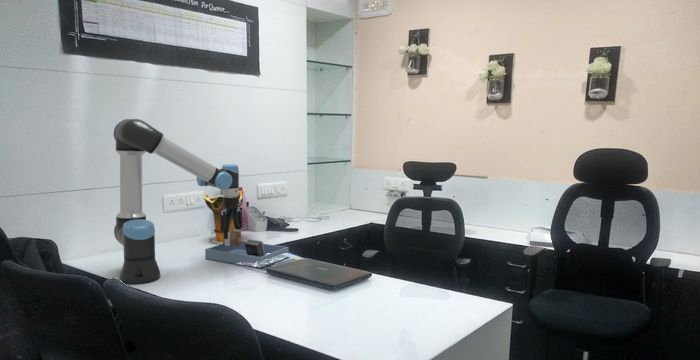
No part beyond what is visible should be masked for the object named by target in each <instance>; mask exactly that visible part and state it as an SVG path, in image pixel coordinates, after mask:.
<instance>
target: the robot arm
mask: <svg viewBox="0 0 700 360" xmlns="http://www.w3.org/2000/svg"><path fill="white" fill-rule="evenodd" d="M113 128H114V129H113V138H114V140H115V152H116V153H117V154H118V155H119V212H118V213H117V214H116V215H115V226H114V229H113V234H114V237H115V239H116V240H117V242H118V243H119V244H121V246H123V263H122V267H121V271H120V274H119V281H120V280H121V281H122V282H124V283H123V284H126V285H140V284H146V283H147V284H149V283H152V282H154V281H158V280H159V279H160V278H161V271H160V267H159V265H158V263H157V259H156V249H155V248H156V242H155V241H156V240H155V239H156V238H155V232H156V229H155V225H154V223H153V222H152V221H151V220H148V219H147V214H146V213H144V211H143V155H145V153H149V155H151V154H153V155H154V154H155V155H157V156H159V157H161V158H163V159H164V160H166V161H168V162H169V163H171V164H173V165H175V166H177V167H179V168H181V169H182V170H184V171H186V172H187V173H190V174H192V176H195V177H196V183H197V185H198V186H199V187H213V188H217V189H219V190H222V195H223V196H224V197H223V205H224V206H225V208H224V210H223V211H220V215H221V223H220V231H222V232H224V239H225V245H226V246H230V232H229V226H230V221H231V218H232V219H233V223H234V227H235V229H234V231H237V232H241V231H240V230H242V228H243V226H244V225H243V213H242V212H243V207H242V206H241V207H238V204H239V197H238V196H239V191H240V186H239V185H240V182H239V180H240V179H239V178H240V177H239V175H240V172H239V165H237V164H234V163H233V164H232V163H228V164H224V163H223V165H222V167H221V168H218V167H216V166H215V165H212V164H211V163H209V162H208V161H206V160H204V159H202V158H200V157H199V156H197V155H196V154H194V153H191V152H190V151H188V150H187V149H186V148H183V147H181V146H180V145H178V144H176V143H175V142H173V141H172V140H169V139H168V138H166V137H165V134H164V133H163V132H161V131H160V130H158V129H156V128H155V127H153V126H152V125H150V124H149V123H147V122H146V121H144V120H142V119H138V118H126V119H123V120H121V121H119V122H118V123H117V124H116V125H115V126H114V127H113ZM122 282H121V283H122Z"/></svg>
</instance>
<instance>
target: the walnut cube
mask: <svg viewBox="0 0 700 360" xmlns="http://www.w3.org/2000/svg"><path fill="white" fill-rule="evenodd" d="M229 232H230V246H232V247H234V246H237V245H240V244H241V239H242V231H240V232H237V231H229ZM223 245H224V246H226V245H225V239H224V233H223Z"/></svg>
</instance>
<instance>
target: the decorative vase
mask: <svg viewBox="0 0 700 360" xmlns="http://www.w3.org/2000/svg"><path fill="white" fill-rule="evenodd" d="M244 193H245V192H244V191H243V190H239V196H238V197H239V204H238V207H242V205H243V201H244ZM223 197H224V196H223V194H221V195H216V196H210V194H209V193H206V194H203V196H202V199H203V200H204V202H205V203H206V207H207V208H208V209H209V210H210V211H212V212H213V213H212V214H213V219H214V220H213V221H214V227H215V228H214V230H213V232H214V233H215V236H216V237H214V238H211V237H210V239H209V240H208V242H209V243H211V244H216V245H220V244H223V233H224V232H222V231H220V223H221V215H220V211H223V210H224V208H225V206H224V205H223ZM234 229H235V227H234V223H233V219H232V218H231V221H230V226H229V231H234ZM213 232H212V233H211V235H213ZM241 241H243V239H242V238H241Z"/></svg>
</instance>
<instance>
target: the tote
mask: <svg viewBox="0 0 700 360" xmlns="http://www.w3.org/2000/svg"><path fill="white" fill-rule="evenodd" d="M246 242H247V241H246V240H242V241H241V244H240V245H237V246H234V247H232V246H224V245H223V244H216V245H214V246H210V247H207V248H205V249H204V252H205V253H204V254H205V256H204V257H205V258H204V259H205V260H206V261H207V260H208V261H214V262H217V263H223V264H230V265H235V264H236V263H238V262H243V261H248V262H256V261H257V262H258V261H260V262H261V261H263V260H265V259H269V258H272V257H275V256H278V255H280V254H283V253H290V252H289V251H290V250H289V249H290V247H289V246H284V245H283V246H281V245H276V244H275V245H274V244H270V243H269V244H268V243H263V245H264V249H265V254H267V253H270V254H267V255H264V256H262V257H257V256H250V255H247V252H246V248H245V243H246Z"/></svg>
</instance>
